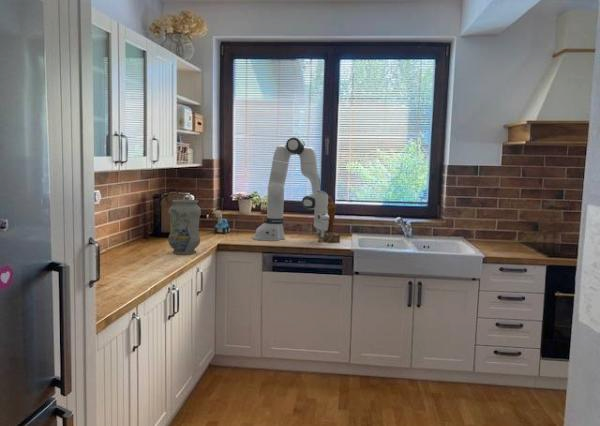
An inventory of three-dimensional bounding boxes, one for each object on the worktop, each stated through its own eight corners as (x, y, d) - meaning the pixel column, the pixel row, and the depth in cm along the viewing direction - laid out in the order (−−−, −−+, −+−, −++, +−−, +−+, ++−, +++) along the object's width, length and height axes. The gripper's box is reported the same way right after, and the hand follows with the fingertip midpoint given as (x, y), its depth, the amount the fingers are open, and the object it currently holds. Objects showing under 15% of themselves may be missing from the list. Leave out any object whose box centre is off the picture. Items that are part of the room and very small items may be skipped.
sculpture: (316, 235, 360) (318, 194, 357) (327, 235, 364) (329, 194, 361) (324, 238, 348) (326, 195, 345) (336, 237, 352) (337, 195, 349)
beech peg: (318, 242, 331) (319, 227, 330) (317, 241, 334) (317, 226, 333) (323, 242, 332) (323, 227, 331) (321, 241, 335) (322, 226, 334)
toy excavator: (210, 234, 350) (210, 210, 348) (219, 231, 366) (219, 208, 364) (222, 235, 348) (222, 211, 346) (230, 232, 364) (230, 208, 362)
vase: (174, 249, 291) (174, 198, 288) (204, 250, 289) (205, 199, 286) (163, 254, 273) (163, 200, 270) (195, 256, 271) (195, 201, 268)
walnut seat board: (327, 242, 331) (327, 235, 331) (322, 240, 341) (322, 232, 340) (339, 242, 334) (340, 235, 333) (334, 239, 343) (335, 232, 343)
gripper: (311, 213, 340) (311, 233, 342) (321, 217, 321) (320, 238, 322) (320, 213, 342) (319, 233, 344) (330, 217, 322) (329, 238, 324)
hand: (320, 235), depth 333 cm, fingers open, 7 cm apart
